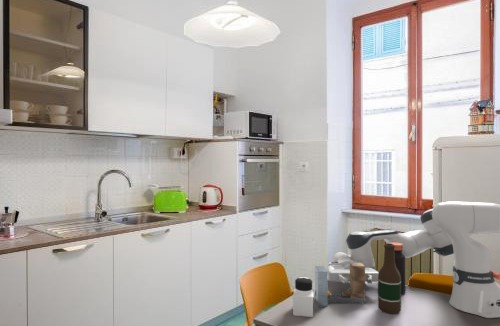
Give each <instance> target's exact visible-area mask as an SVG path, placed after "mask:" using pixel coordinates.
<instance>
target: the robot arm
mask: <svg viewBox="0 0 500 326" xmlns="http://www.w3.org/2000/svg"><path fill="white" fill-rule="evenodd" d="M420 221H421V224H422V225H423V228H424V229H425V230H423V229H416V230H408V231H405V232H402V233H401V232H400V231H398V229H390V228H389V229H377V230H366V231H353V232H350V233H349V234H348V235H347V237H346V240H345V242H346V245H347V247H348V251H349V254H347V253H345V252H343V251H338V252H336V253H334V255H333V256H332V258H331V261H330V262H328V263H327V281H329V282H341V283H343V284H348V282H349V283H350V263H362V264H363V265H364V266H365V283H367V284H373V282H377V283H378V274H379V271H378V270H376V269H375V267H376V264H375V258H374V257H375V256H374V254H373V250H372V245H371V244H372V241H378V240H381V241H382V240H384V242H386V243H385V244H388V243H389V244H390V243H401V244H403V251H402V254H403V255H404V256H405V259H406V258H407V259H408V258H412V257H414V256H418V255H420V254H422V253H424V252H425V251H427V250H430V249H433V251H432V253H436V254H437V255H438V256H442V257H453V266H452V281H453V285H452V291H451V295H450V298H449V302H448V303H449V305H450V306H452V307H453V308H455V309H456V310H459V311H461V312H465V313H468V314H472V315H473V314H474V315H477V316H480V317H483V318H484V319H485V318H486V319H493V318H500V284H499V283H497V281H496V280H500V273H498V272H493V271H492V270H490V268H491V267H490V264H491V263H490V260H491V259H490V258H491V257H490V254H491V253H490V250H489V249H488V247H487V246H486V245H484V244H483V243H482V242H480V241H477V240H475V239H473V238H472V237H471V235H489V234H499V233H500V204H498V203H494V202H482V201H481V202H478V201H474V202H473V201H453V200H450V201H444V202H438V203H437V204H435V205H434V207H433V208H431V209H428V210H426V211H424V212H423V213H422V214H421V215H420ZM495 279H496V280H495Z"/></svg>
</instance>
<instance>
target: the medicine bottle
mask: <svg viewBox="0 0 500 326" xmlns="http://www.w3.org/2000/svg"><path fill="white" fill-rule="evenodd" d="M294 282H295V283H294V284H295V285H294V290H293V295H292V315H293V316H294V317H295V316H296V317H307V318H314V315H315V289H313V280H312V279H310V278H309V277H305V276H303V277H302V276H301V277H297V278H296V279H295V280H294Z"/></svg>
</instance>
